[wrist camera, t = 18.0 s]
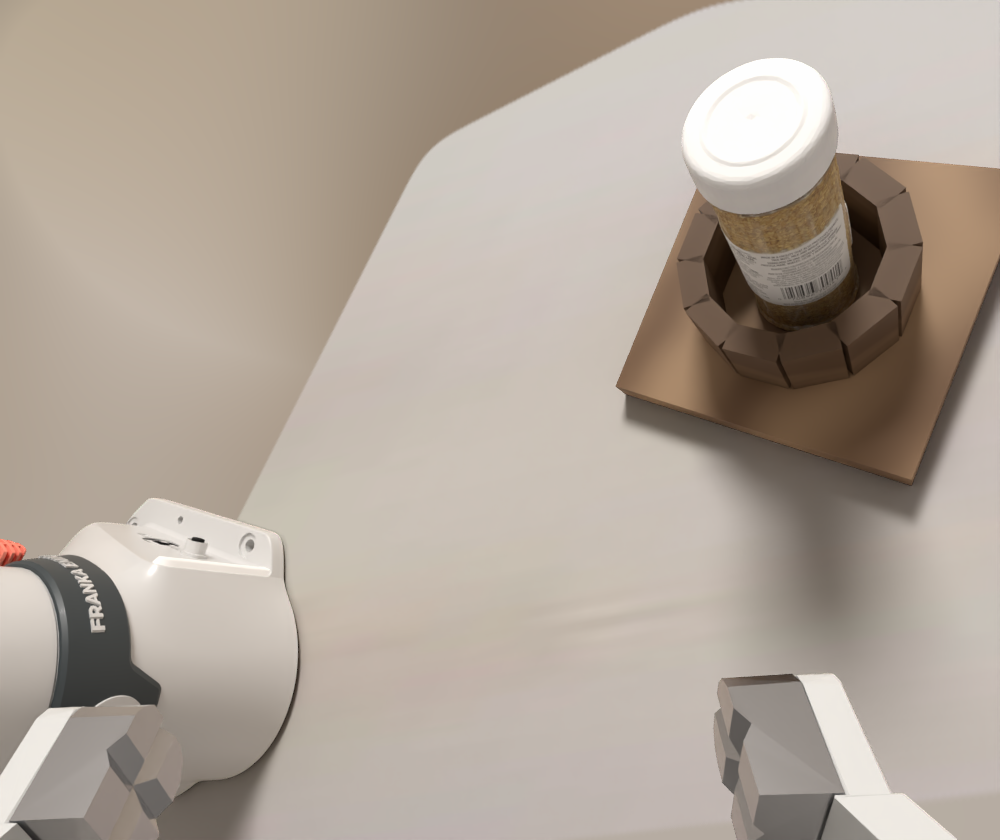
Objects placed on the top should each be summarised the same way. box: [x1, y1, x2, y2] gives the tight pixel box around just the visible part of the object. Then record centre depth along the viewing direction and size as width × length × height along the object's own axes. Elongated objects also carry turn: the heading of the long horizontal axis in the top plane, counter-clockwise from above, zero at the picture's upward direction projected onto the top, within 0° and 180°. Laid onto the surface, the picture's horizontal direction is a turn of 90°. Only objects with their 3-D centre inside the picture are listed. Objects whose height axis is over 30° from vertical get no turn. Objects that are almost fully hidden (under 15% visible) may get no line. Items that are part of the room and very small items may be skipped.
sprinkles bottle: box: [681, 58, 859, 331], centre depth 27 cm, size 5×5×13 cm
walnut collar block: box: [616, 153, 1000, 486], centre depth 32 cm, size 14×14×6 cm
